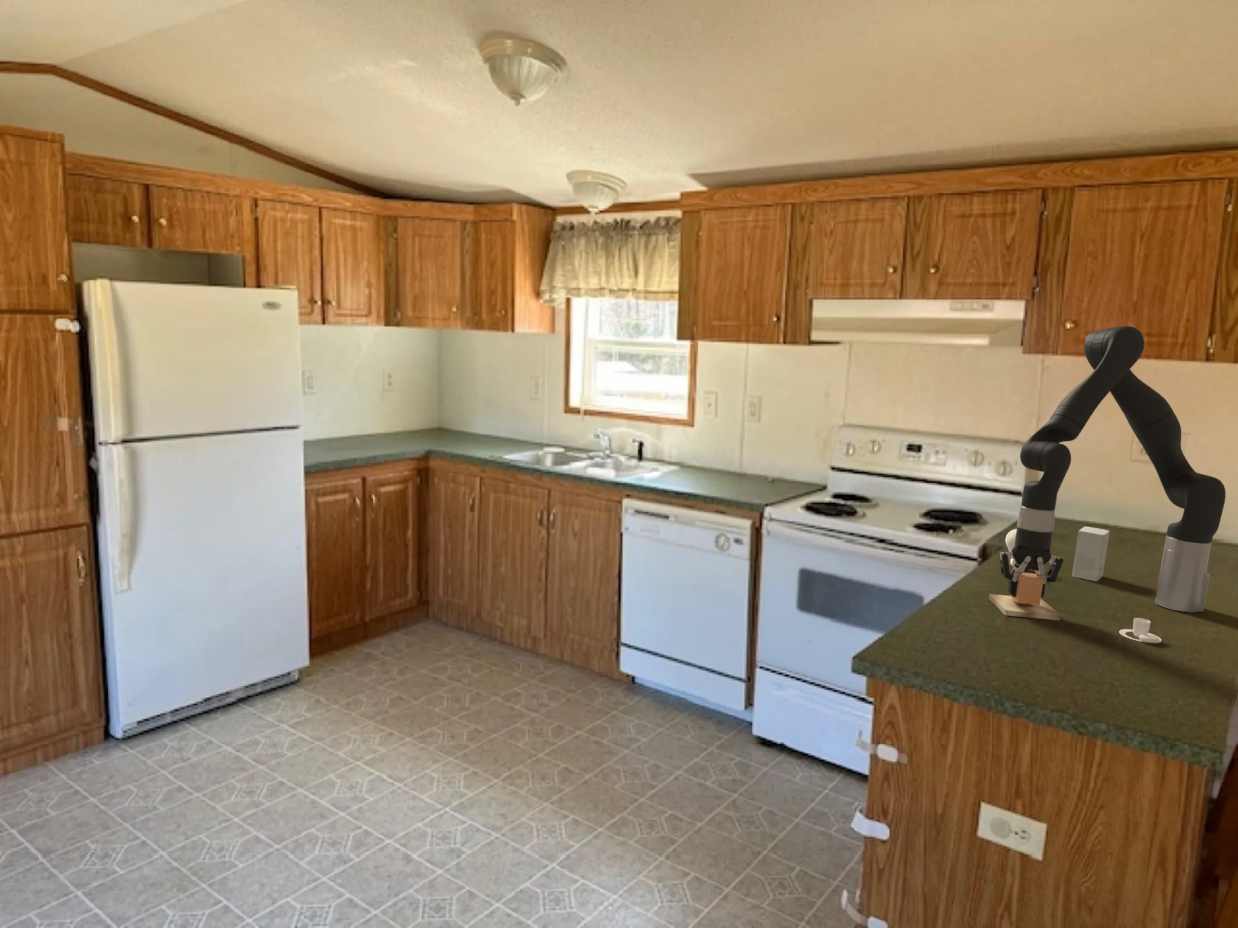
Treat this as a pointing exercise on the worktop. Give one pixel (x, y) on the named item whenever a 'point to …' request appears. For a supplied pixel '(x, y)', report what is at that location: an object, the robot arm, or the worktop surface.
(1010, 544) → the light bulb
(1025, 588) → the salmon cube
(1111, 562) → the worktop surface
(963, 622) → the worktop surface
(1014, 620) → the worktop surface
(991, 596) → the post base
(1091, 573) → the small box
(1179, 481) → the robot arm
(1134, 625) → the white ring and cup
